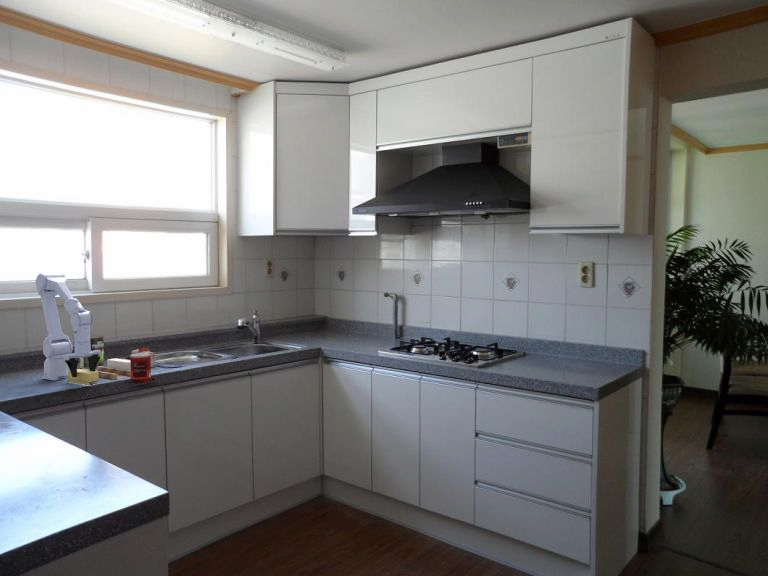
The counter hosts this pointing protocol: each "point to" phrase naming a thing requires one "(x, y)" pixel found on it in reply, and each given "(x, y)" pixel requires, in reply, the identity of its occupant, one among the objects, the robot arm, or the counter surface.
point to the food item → (146, 350)
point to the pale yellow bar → (83, 377)
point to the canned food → (140, 367)
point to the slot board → (112, 372)
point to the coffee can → (95, 344)
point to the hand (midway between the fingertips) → (83, 375)
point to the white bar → (119, 364)
